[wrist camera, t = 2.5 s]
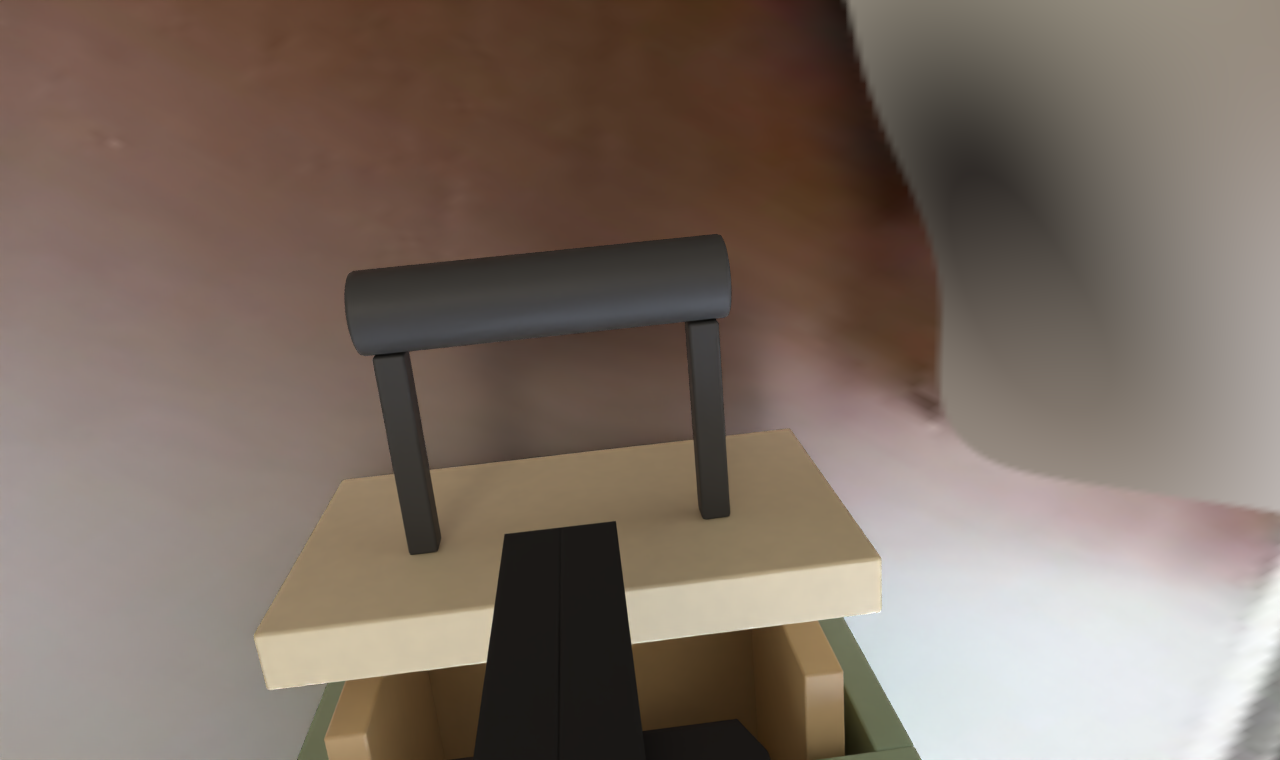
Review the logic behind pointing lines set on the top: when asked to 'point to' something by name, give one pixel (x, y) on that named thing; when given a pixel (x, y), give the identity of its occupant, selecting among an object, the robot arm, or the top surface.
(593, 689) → the robot arm
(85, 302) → the top surface
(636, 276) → the drawer
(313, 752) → the cabinet
